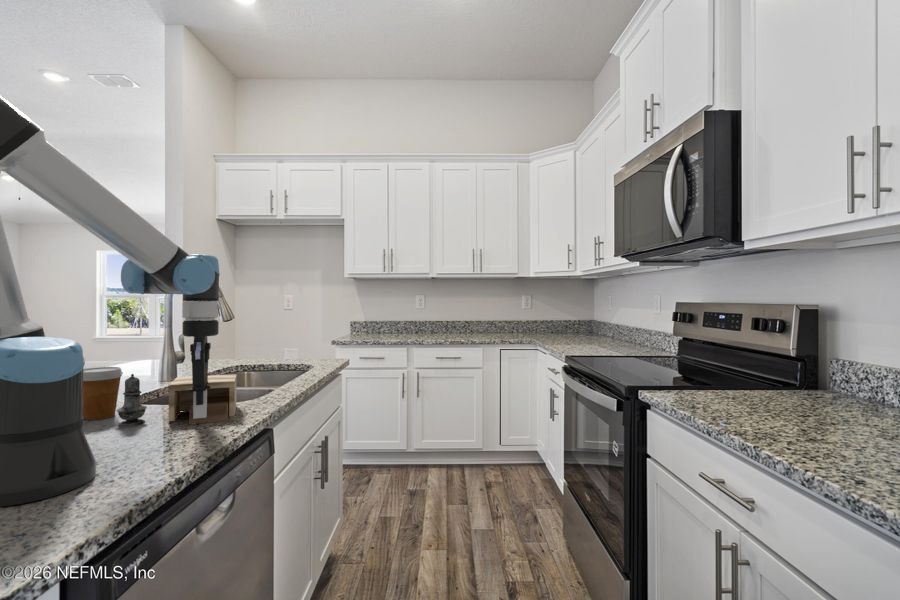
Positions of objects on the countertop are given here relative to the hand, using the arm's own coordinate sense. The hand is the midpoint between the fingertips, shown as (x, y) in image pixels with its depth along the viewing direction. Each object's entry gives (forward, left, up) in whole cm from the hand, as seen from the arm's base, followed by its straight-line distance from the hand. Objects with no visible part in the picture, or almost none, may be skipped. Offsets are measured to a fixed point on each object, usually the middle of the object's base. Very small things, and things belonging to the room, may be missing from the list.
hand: (200, 417), depth 105 cm
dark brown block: (+7, -2, -2) cm, 7 cm away
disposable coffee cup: (+17, +24, -2) cm, 29 cm away
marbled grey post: (+7, +15, -2) cm, 16 cm away
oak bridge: (+10, 0, -2) cm, 10 cm away
